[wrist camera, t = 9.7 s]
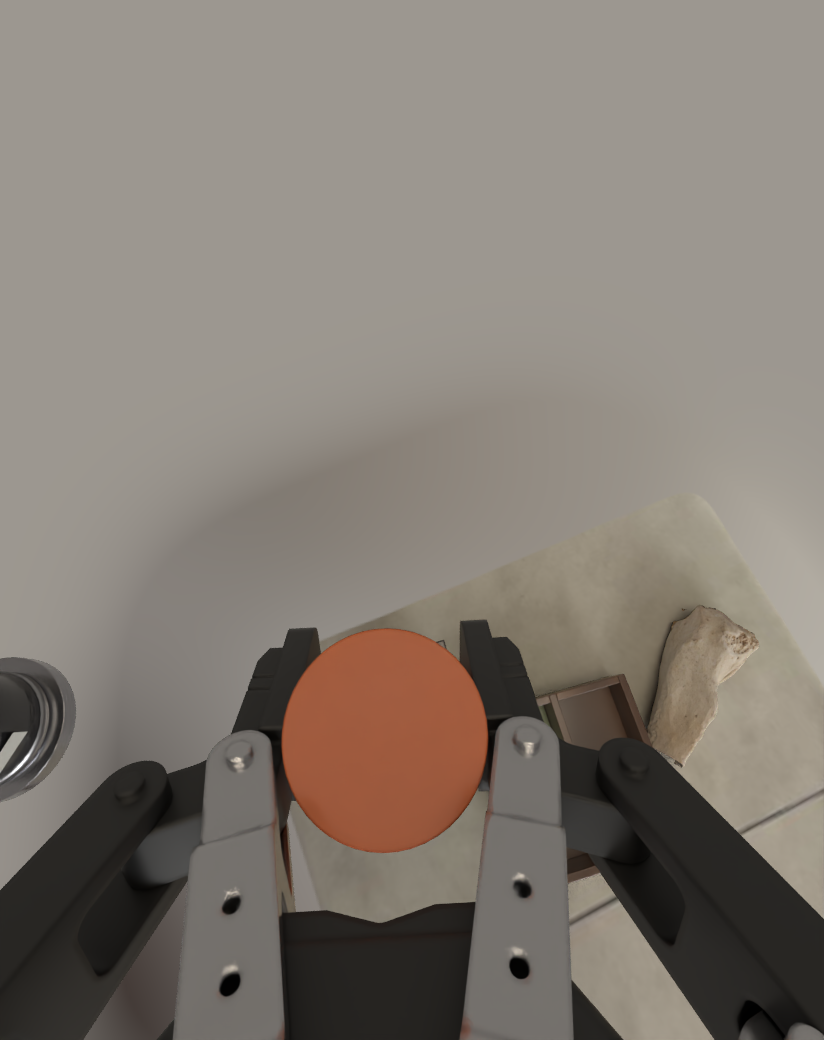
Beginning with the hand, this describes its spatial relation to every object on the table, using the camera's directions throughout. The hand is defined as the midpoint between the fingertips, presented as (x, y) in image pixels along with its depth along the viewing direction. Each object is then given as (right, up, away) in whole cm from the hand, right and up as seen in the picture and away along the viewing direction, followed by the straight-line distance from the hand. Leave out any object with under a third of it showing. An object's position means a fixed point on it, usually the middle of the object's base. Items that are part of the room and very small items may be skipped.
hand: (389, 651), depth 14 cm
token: (0, -3, +3) cm, 5 cm away
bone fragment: (+25, -11, +32) cm, 42 cm away
